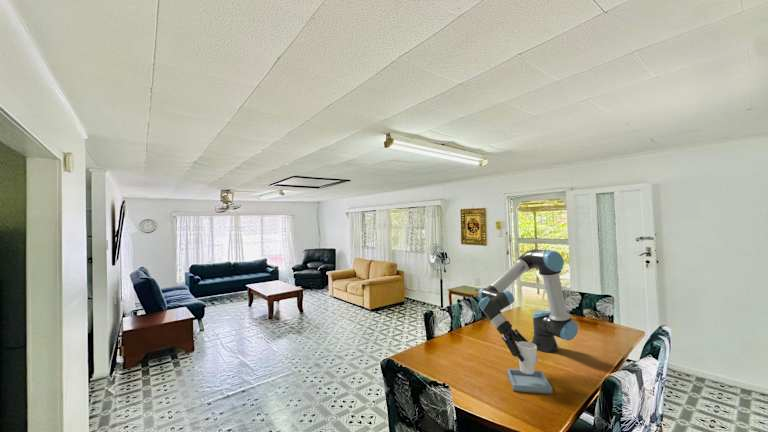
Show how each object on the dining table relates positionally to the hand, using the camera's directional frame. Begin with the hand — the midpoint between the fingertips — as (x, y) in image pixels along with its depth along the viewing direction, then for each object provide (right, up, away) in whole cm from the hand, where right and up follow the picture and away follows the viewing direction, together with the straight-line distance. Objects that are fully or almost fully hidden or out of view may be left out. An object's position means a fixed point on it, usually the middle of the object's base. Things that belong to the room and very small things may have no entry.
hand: (533, 363), depth 153 cm
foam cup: (-2, -5, +2) cm, 6 cm away
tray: (-1, -11, +2) cm, 11 cm away
